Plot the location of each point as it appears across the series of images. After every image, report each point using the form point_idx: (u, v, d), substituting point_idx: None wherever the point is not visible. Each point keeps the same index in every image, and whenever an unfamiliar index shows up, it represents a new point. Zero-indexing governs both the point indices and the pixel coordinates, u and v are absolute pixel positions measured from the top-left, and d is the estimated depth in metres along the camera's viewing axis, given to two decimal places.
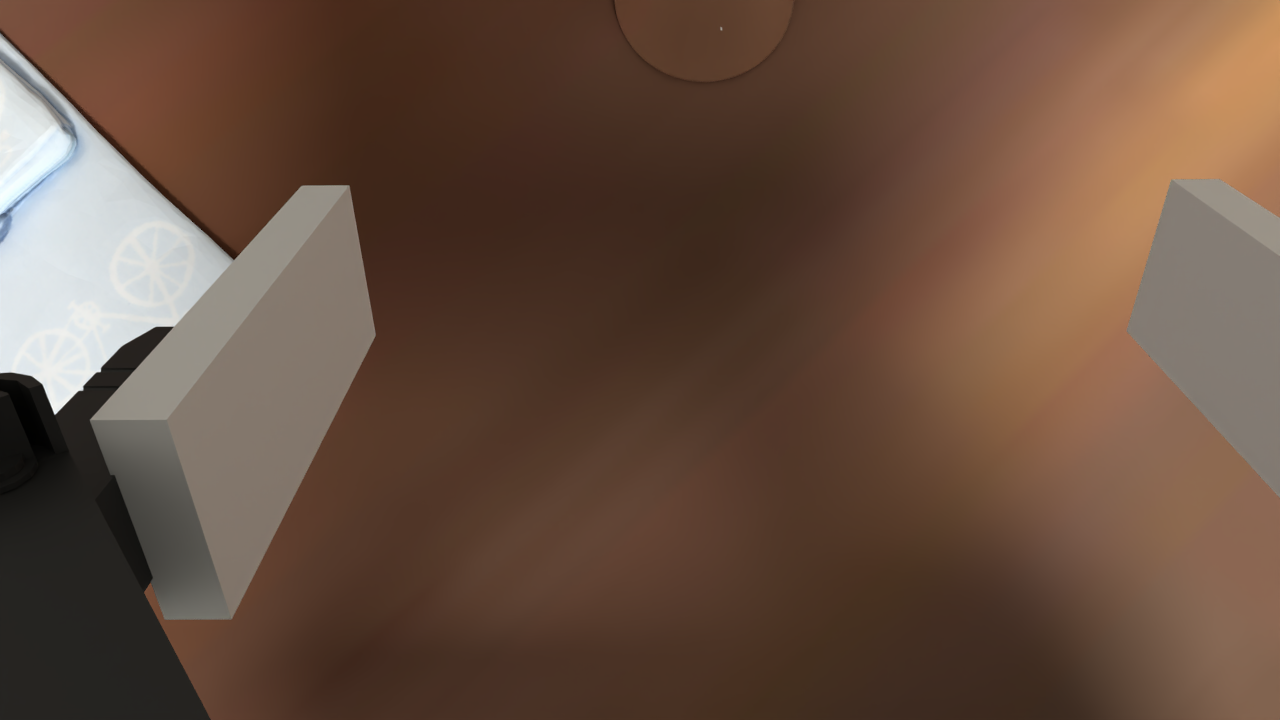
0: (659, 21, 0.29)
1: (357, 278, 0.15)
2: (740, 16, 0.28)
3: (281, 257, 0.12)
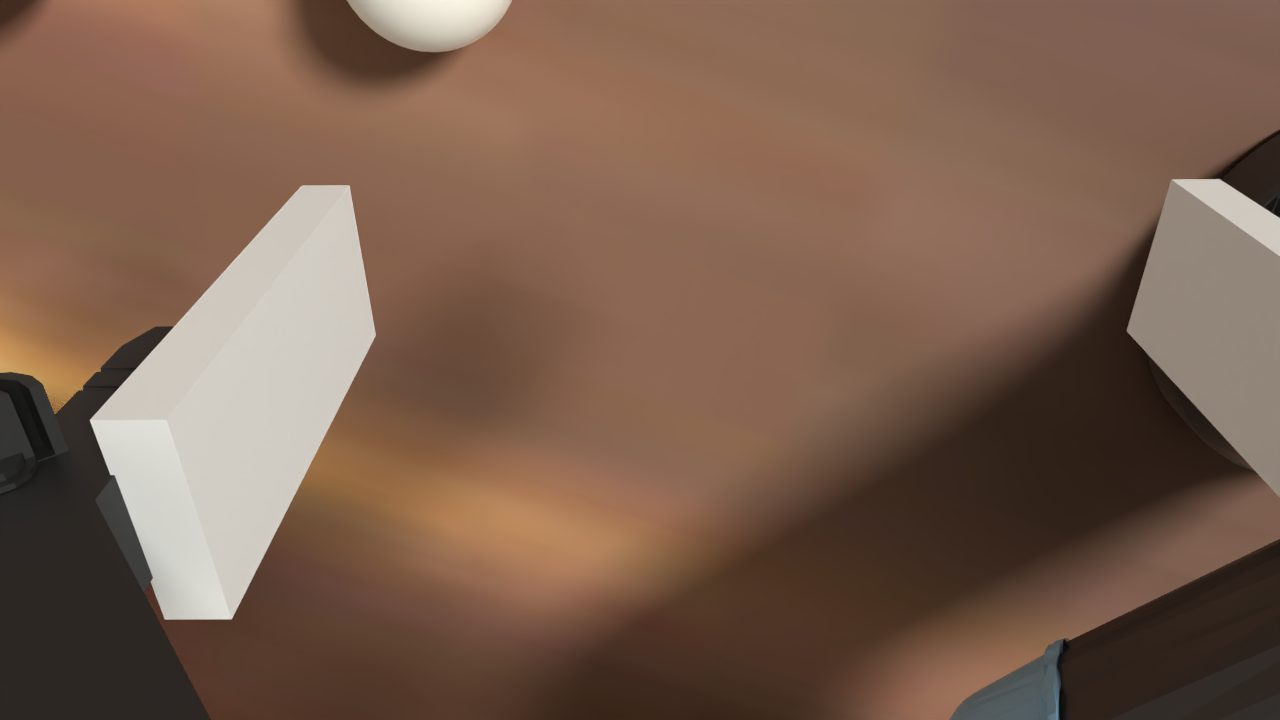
0: None
1: (357, 278, 0.15)
2: None
3: (280, 258, 0.12)
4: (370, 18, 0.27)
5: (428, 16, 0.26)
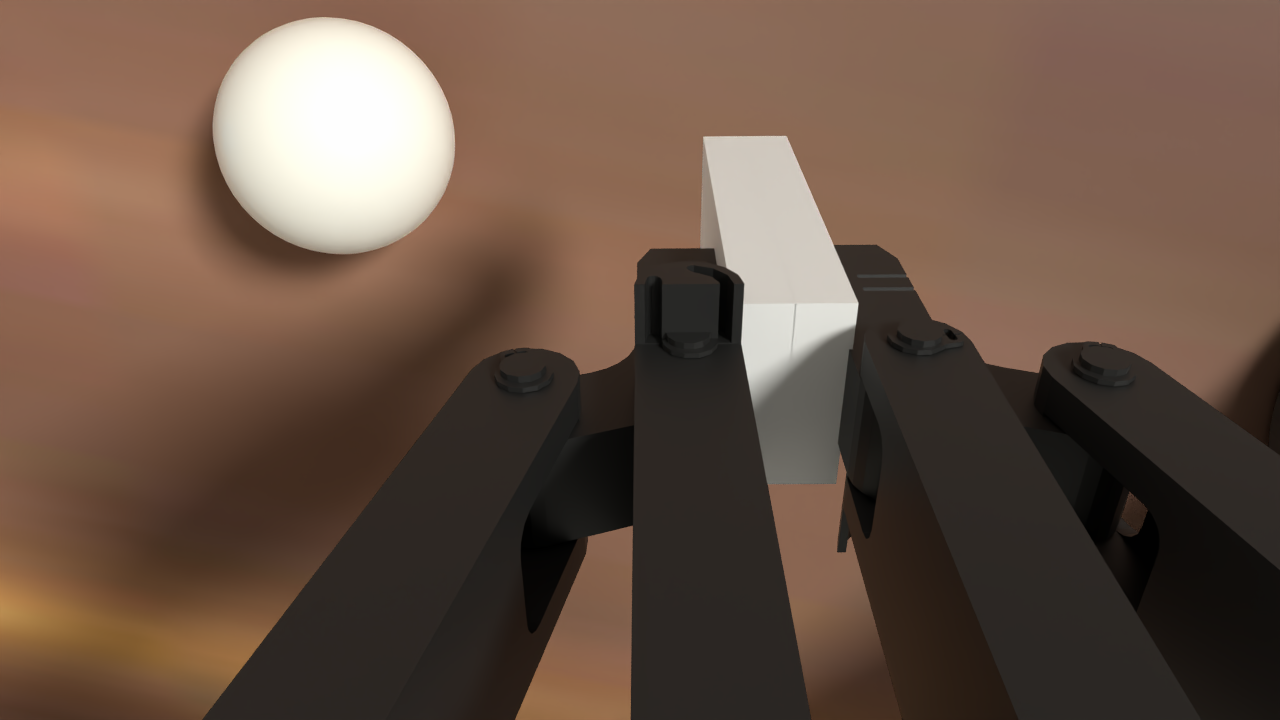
0: None
1: None
2: None
3: (750, 191, 0.14)
4: (273, 231, 0.22)
5: (340, 226, 0.21)
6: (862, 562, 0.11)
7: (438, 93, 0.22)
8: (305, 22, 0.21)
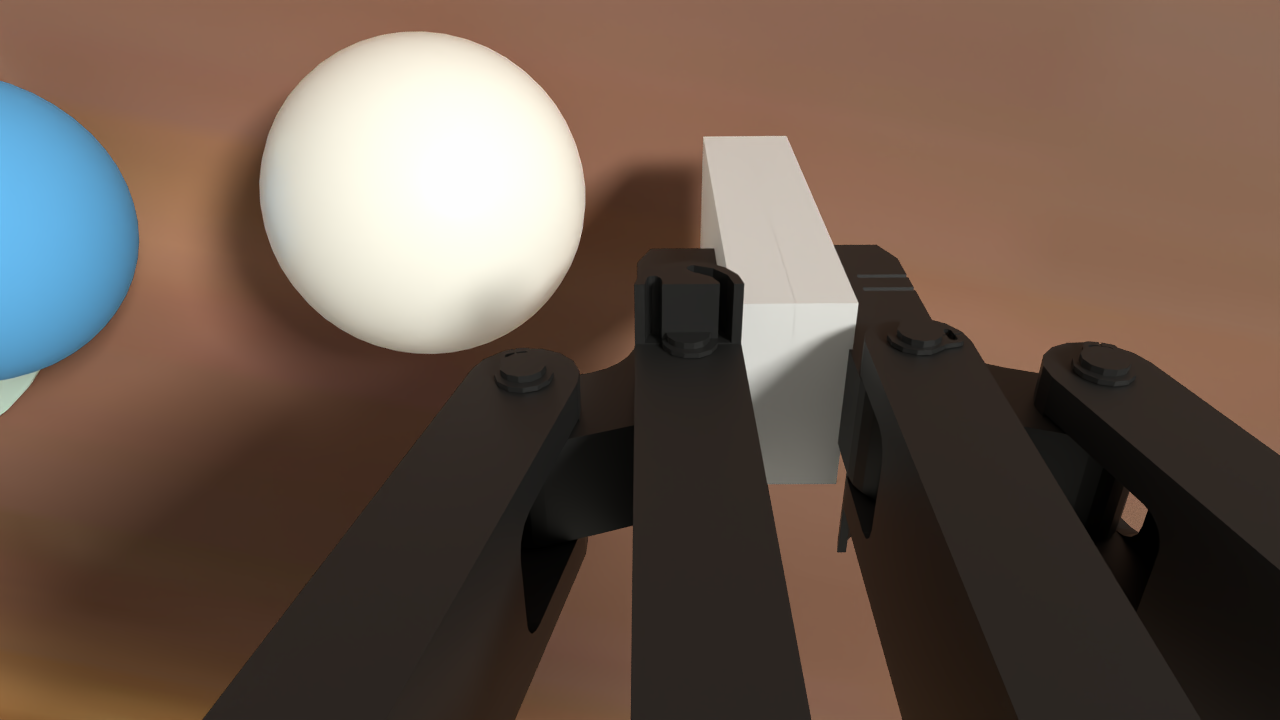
0: None
1: None
2: None
3: (751, 190, 0.14)
4: None
5: None
6: (862, 562, 0.11)
7: None
8: (436, 33, 0.15)
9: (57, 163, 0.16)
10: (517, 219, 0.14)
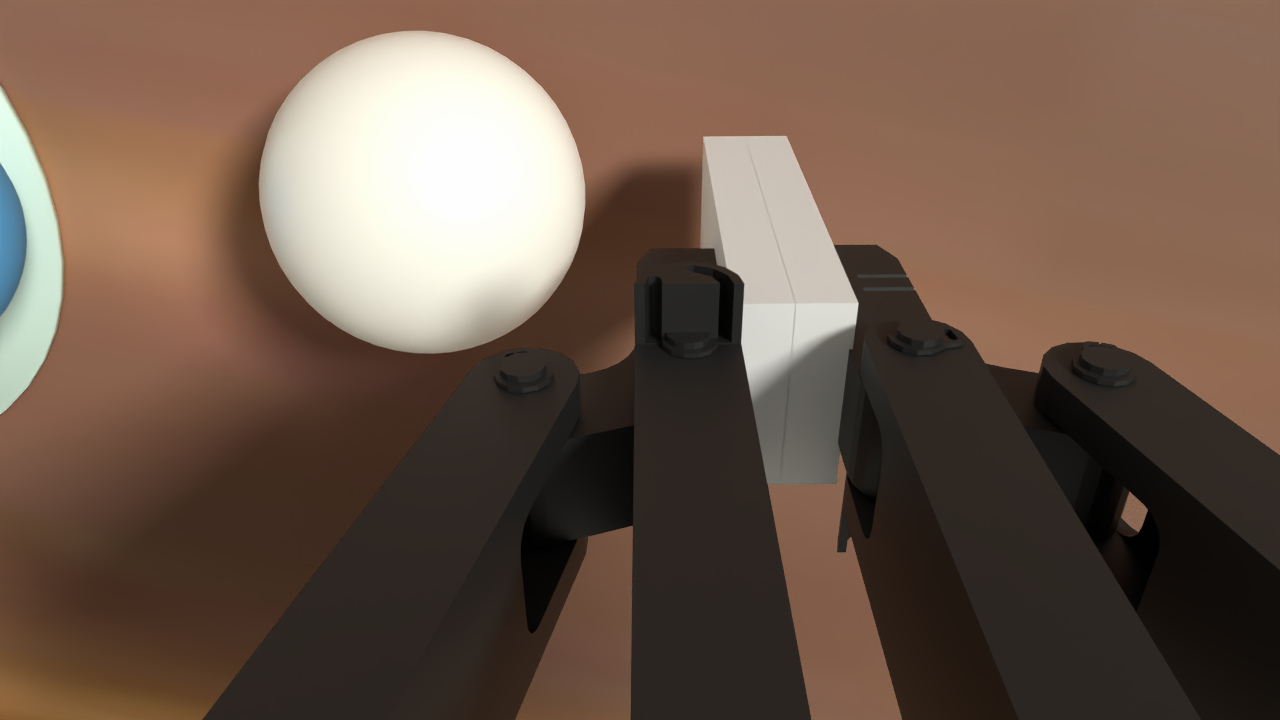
0: None
1: None
2: None
3: (751, 190, 0.14)
4: None
5: None
6: (862, 562, 0.11)
7: (268, 132, 0.15)
8: (435, 32, 0.15)
9: None
10: (517, 219, 0.14)
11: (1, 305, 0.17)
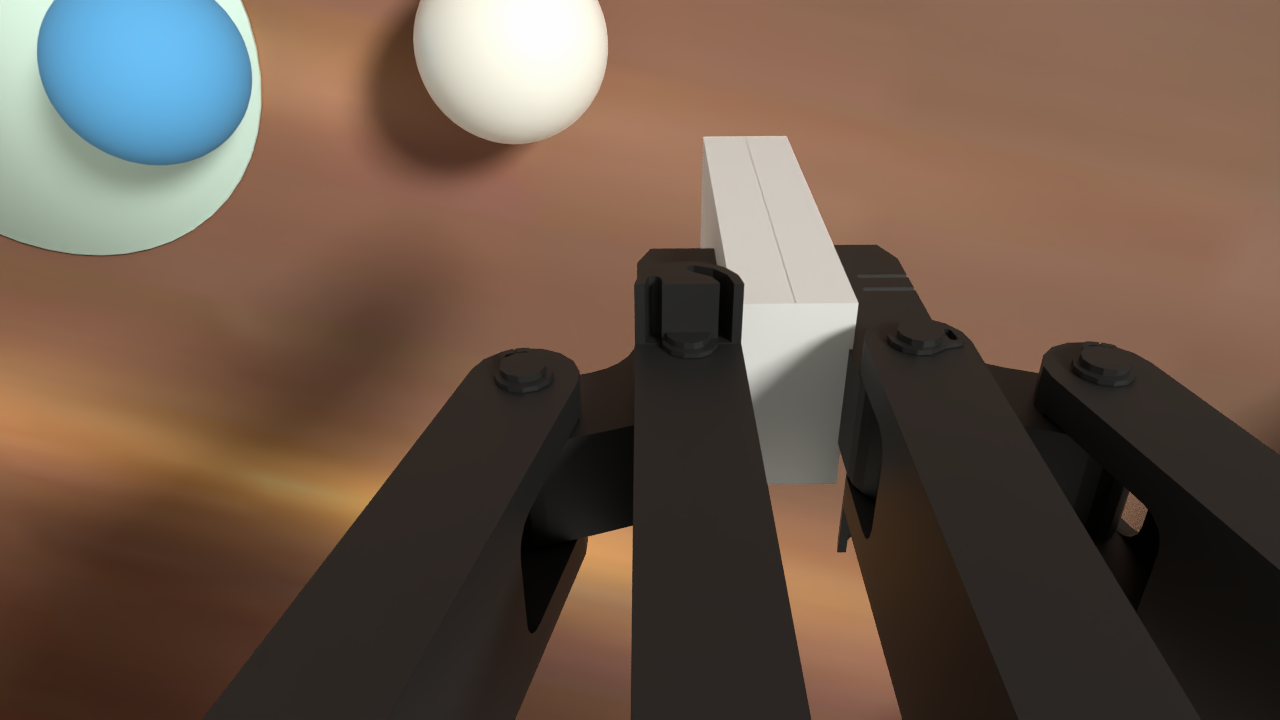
0: None
1: None
2: None
3: (751, 190, 0.14)
4: None
5: None
6: (862, 562, 0.11)
7: (420, 1, 0.26)
8: None
9: (153, 34, 0.25)
10: (570, 46, 0.25)
11: (240, 120, 0.28)
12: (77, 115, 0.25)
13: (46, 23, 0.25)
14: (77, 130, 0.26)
